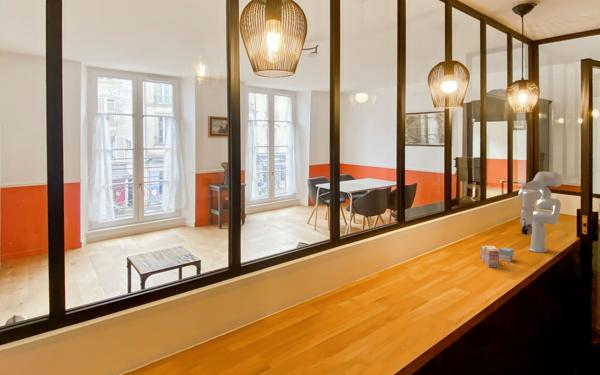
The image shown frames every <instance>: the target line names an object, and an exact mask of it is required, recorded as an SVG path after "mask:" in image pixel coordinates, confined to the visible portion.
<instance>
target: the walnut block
mask: <svg viewBox="0 0 600 375" xmlns="http://www.w3.org/2000/svg"><path fill="white" fill-rule="evenodd" d="M525 226H526V225H525ZM520 234H521V235H525V236H531V234H532V226H529V225H527V234H522V227H521V233H520Z"/></svg>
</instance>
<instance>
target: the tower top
mask: <svg viewBox="0 0 600 375" xmlns="http://www.w3.org/2000/svg"><path fill="white" fill-rule="evenodd" d="M498 250H499V254H500V255H504V256H508V257H509V256H512V255H514V256H515V253H514V252H515V249H514V248H511V247H510V248H509V247H505V246H504V247H501V248H498Z"/></svg>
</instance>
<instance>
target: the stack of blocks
mask: <svg viewBox="0 0 600 375" xmlns="http://www.w3.org/2000/svg"><path fill="white" fill-rule="evenodd" d="M480 259H481V260H482V262H483V263H484V264H485V265H486V266H487V267H488V268H492V269H499V261H500V260H499V248H497V247H496V246H495V245H484V246H483V245H481V246H480Z"/></svg>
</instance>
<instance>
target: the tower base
mask: <svg viewBox="0 0 600 375" xmlns="http://www.w3.org/2000/svg"><path fill="white" fill-rule="evenodd" d="M514 257H515V254H514V255H512V256H509V257H508V256H504V255H500V254H499V261H500V260H501V261H505V262H508V263H509V262H512V261H514Z"/></svg>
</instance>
